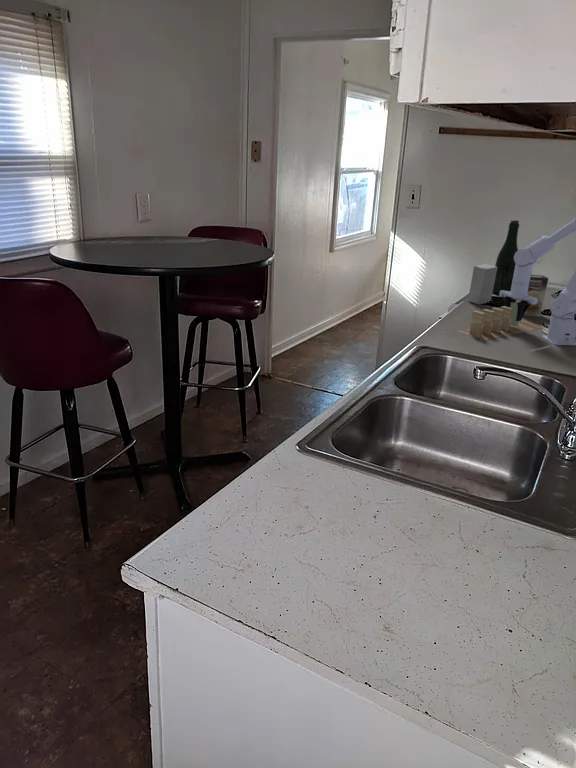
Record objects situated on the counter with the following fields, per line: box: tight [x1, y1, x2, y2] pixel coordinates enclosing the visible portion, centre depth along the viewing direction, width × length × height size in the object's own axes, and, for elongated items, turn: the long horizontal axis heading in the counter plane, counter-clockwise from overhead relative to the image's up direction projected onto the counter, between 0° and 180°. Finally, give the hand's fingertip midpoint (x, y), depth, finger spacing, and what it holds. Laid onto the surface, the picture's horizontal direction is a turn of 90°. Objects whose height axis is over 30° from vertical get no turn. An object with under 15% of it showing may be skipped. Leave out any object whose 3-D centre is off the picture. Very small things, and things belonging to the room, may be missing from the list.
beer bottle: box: [492, 219, 520, 295], centre depth 272 cm, size 10×10×33 cm
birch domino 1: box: [469, 310, 485, 336], centre depth 208 cm, size 2×4×8 cm, turn 35°
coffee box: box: [516, 274, 549, 318], centre depth 238 cm, size 9×6×16 cm
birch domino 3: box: [491, 307, 504, 332], centre depth 214 cm, size 2×4×8 cm, turn 35°
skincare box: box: [467, 263, 497, 305], centre depth 256 cm, size 8×7×16 cm
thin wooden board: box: [456, 319, 543, 341], centre depth 218 cm, size 37×12×1 cm, turn 125°
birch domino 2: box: [481, 308, 495, 334], centre depth 211 cm, size 2×4×8 cm, turn 35°
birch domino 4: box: [500, 305, 513, 331], centre depth 216 cm, size 2×4×8 cm, turn 34°
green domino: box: [510, 302, 519, 326], centre depth 219 cm, size 2×4×8 cm, turn 34°
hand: (513, 319), depth 220 cm, fingers closed on green domino, 4 cm apart
